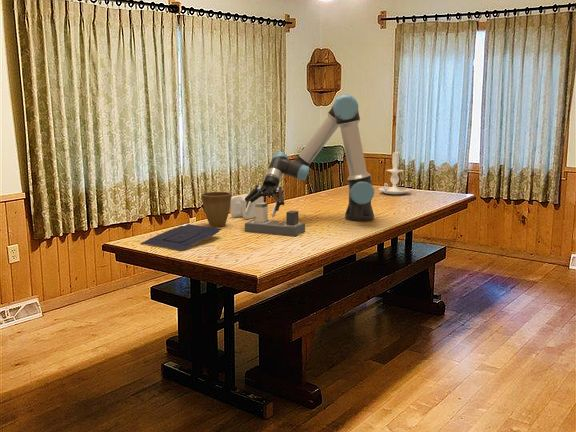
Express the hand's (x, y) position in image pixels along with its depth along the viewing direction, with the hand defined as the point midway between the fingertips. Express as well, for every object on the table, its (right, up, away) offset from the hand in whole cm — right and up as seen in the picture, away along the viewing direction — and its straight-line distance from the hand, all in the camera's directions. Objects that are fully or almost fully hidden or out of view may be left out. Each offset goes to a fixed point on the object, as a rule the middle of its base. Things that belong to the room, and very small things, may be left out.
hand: (259, 214), depth 291 cm
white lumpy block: (-8, -1, +35) cm, 36 cm away
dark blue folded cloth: (-33, -12, -18) cm, 39 cm away
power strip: (+7, -8, +1) cm, 11 cm away
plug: (+1, -6, +4) cm, 7 cm away
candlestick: (+82, +13, +111) cm, 138 cm away
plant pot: (-22, -5, +14) cm, 26 cm away
